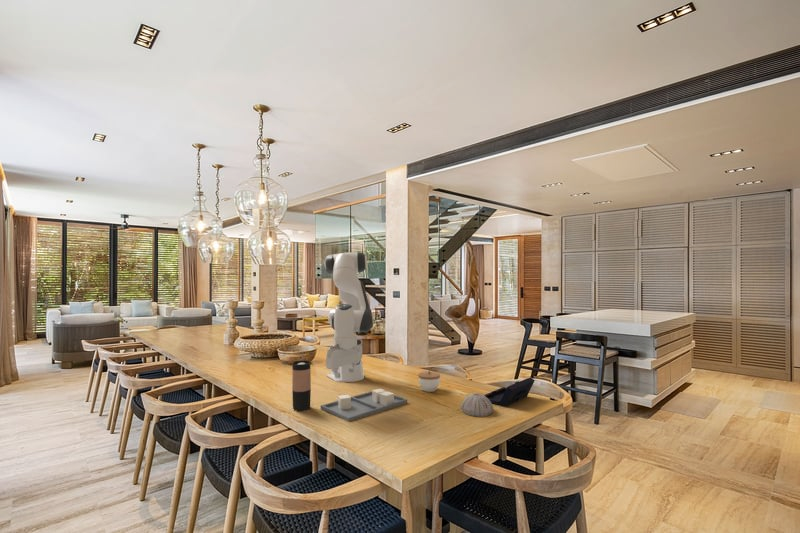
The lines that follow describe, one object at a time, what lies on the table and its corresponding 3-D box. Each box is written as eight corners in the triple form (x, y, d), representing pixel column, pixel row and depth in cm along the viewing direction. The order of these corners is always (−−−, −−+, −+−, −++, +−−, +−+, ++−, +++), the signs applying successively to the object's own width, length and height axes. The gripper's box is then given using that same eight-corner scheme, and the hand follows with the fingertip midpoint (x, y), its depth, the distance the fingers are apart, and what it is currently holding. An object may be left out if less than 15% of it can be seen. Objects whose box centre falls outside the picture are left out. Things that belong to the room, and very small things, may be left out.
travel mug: (289, 409, 171) (288, 362, 171) (304, 404, 176) (304, 359, 176) (298, 413, 165) (298, 365, 165) (314, 409, 171) (314, 362, 171)
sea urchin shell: (492, 408, 171) (492, 390, 171) (494, 420, 157) (494, 400, 157) (461, 407, 173) (461, 388, 173) (460, 418, 160) (460, 398, 160)
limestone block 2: (372, 400, 179) (372, 390, 179) (381, 398, 181) (380, 388, 181) (376, 403, 175) (376, 392, 175) (385, 401, 177) (385, 391, 177)
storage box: (503, 392, 194) (503, 371, 194) (534, 399, 182) (534, 378, 182) (479, 402, 179) (479, 380, 179) (512, 411, 168) (511, 387, 168)
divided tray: (320, 410, 169) (320, 405, 169) (378, 393, 191) (378, 389, 191) (348, 423, 155) (348, 418, 155) (407, 404, 177) (407, 399, 177)
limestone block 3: (379, 403, 174) (379, 393, 174) (387, 401, 177) (387, 391, 177) (386, 406, 171) (386, 395, 171) (394, 403, 174) (394, 393, 174)
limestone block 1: (338, 406, 172) (338, 395, 172) (348, 404, 173) (348, 394, 173) (340, 409, 167) (340, 398, 167) (351, 408, 169) (351, 397, 169)
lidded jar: (439, 394, 190) (438, 374, 190) (416, 392, 193) (416, 373, 193) (441, 387, 201) (441, 368, 201) (420, 386, 203) (420, 367, 203)
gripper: (333, 347, 160) (333, 382, 160) (364, 339, 177) (364, 370, 177) (321, 346, 163) (322, 379, 163) (353, 338, 181) (353, 368, 181)
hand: (344, 375), depth 170 cm, fingers open, 8 cm apart
